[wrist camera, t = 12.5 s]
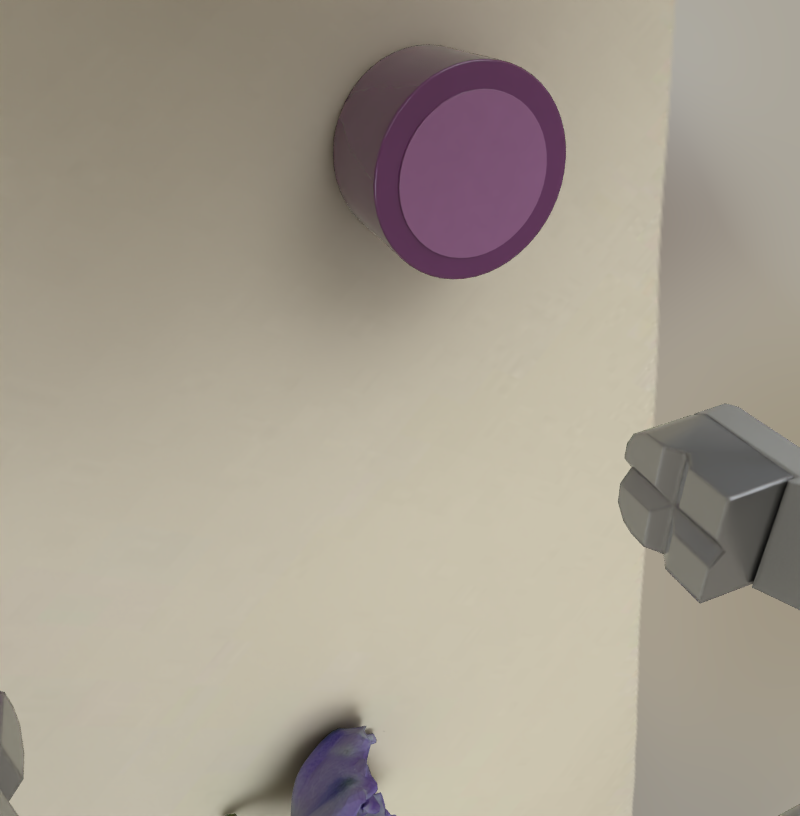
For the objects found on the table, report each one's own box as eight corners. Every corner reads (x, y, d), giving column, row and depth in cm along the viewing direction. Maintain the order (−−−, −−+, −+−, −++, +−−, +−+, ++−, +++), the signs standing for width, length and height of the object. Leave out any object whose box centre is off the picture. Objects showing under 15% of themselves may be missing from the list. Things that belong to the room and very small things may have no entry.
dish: (301, 97, 20) (341, 121, 17) (479, 9, 21) (546, 18, 18) (372, 271, 24) (415, 314, 21) (521, 192, 24) (582, 224, 22)
